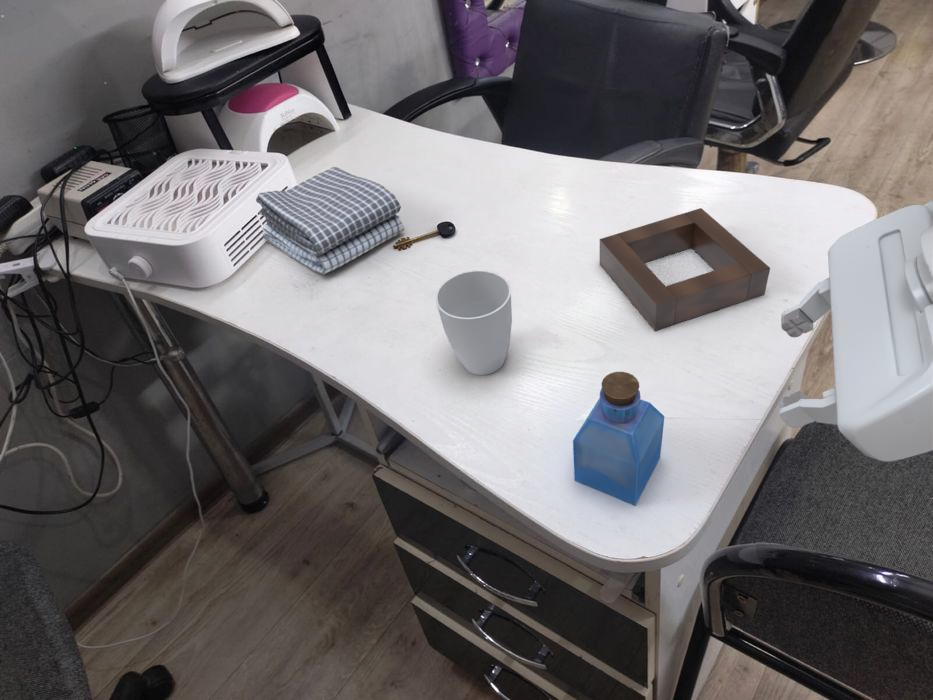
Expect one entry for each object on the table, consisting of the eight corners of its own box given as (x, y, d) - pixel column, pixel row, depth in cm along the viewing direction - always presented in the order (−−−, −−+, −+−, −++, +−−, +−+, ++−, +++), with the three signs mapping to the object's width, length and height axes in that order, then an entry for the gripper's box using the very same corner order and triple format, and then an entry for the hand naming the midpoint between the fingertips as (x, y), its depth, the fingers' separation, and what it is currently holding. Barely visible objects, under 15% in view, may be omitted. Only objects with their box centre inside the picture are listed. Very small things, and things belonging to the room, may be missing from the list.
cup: (528, 343, 81) (521, 276, 74) (502, 391, 76) (493, 324, 69) (466, 330, 84) (454, 265, 77) (437, 376, 79) (422, 310, 72)
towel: (327, 284, 94) (311, 237, 89) (261, 239, 105) (243, 195, 100) (410, 233, 101) (400, 186, 96) (340, 195, 112) (327, 151, 106)
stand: (698, 233, 92) (701, 207, 89) (764, 294, 81) (770, 267, 78) (599, 264, 90) (599, 238, 87) (654, 331, 79) (656, 304, 77)
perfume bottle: (660, 457, 67) (668, 372, 58) (635, 505, 63) (641, 422, 55) (601, 435, 69) (601, 351, 61) (574, 480, 66) (571, 397, 58)
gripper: (936, 158, 48) (762, 259, 57) (993, 361, 34) (752, 448, 44) (987, 217, 49) (809, 305, 59) (1059, 433, 36) (814, 501, 46)
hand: (785, 368), depth 51 cm, fingers open, 8 cm apart
